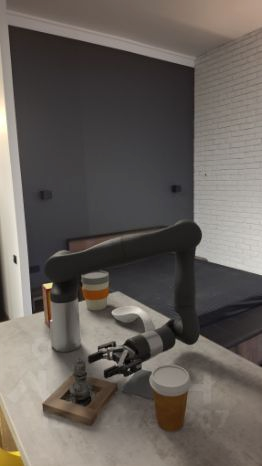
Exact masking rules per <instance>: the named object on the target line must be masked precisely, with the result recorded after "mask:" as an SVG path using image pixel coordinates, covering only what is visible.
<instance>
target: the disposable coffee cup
mask: <svg viewBox="0 0 262 466" xmlns="http://www.w3.org/2000/svg"><path fill="white" fill-rule="evenodd" d="M151 372H152V374H151V376H150V379H149V382H150V385H151V387H152V392H153V398H154V401H153V402H154V403H153V404H154V409H155V417H156V423H157V426H158V427H159V428H161V430H164V431H166V432H171V433H172V432H177V431H179V430H181V429H182V428H183V427H184V424H185V419H186V411H187V404H188V403H187V402H188V396H189V389H190V387H191V384H192V380H191V377H190V375H189V372H188V371H187V370H186V369H185V368H183V367H181V366H180V365H176V364H162V365H158V366H156V367H155V368H154V369H153V370H152V371H151Z"/></svg>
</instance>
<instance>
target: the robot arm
mask: <svg viewBox="0 0 262 466" xmlns="http://www.w3.org/2000/svg"><path fill="white" fill-rule="evenodd" d="M202 237H203V232H202V229H201V227H200V225H198V223H196V221H193V220H192V219H188V218H183V219H180V220H178V221H177V222H175V223H174V224H172V225H170V226H167V227H165V228H163V229H159V230H156V231H152V232H151V231H149V232H142V233H141V232H140V233H132V234H125V235H121V236H117V237H114V238H111V239H108V240H105V241H102V242H101V243H98V244H96V245H93V246H91V247H89V248H87V249H85V250H81V251H78V252H72V251H70V250H66V249H62V250H59V251H57V252H55V253H54V254H53V255H51V256H50V257H49V258H48V259H47V260H46V261H45V263H44V266H43V273H44V275H45V277H46V278H47V279H48V280H49V281H52V283H53V284H52V288H51V291H50V302H51V315H52V320H50V327H49V330H50V333H49V334H50V344H51V345H50V346H51V347H52V348H53V349H54V350H55V351H57V352H61V353H67V352H68V353H69V352H72V351H76V350H77V349H78V348H80V347H81V345H82V343H81V340H82V339H81V325H80V307H79V294H78V293H79V289H80V288H79V287H80V277H79V276H82V275H83V274H86V273H90V272H95V271H105V270H110V269H114V268H118V267H119V268H121V267H122V266H123V267H124V266H128V265H131V264H135V263H137V262H141V261H145V260H148V259H151V258H154V257H157V256H160V255H165V254H171V253H174V255H175V256H174V259H175V260H174V262H175V263H174V264H175V266H174V281H173V296H172V297H173V301H172V302H173V311H174V312H175V313H176V314H177V315H179V316H175V317H173V318H171V319H169V320H168V321H166V322H165V323H164V324H162V326H160V327H158V328H155V330H153V331H149V332H145V331H144V332H143V333H140V334H138V335H135V336H132V337H129V338H127V339H126V340H125V341H124V343H123V344H121V345H120V344H119V345H117V341H115V340H112V341H109V342H106V343H103V344H100V345H97V351H96V352H94V353H91V354H89V355H88V356H87V363H88V364H90V365H91V364H93V363H95V362H98V361H100V360H107V361H113V362H115V363H116V364H117V365H116V364H114V365H112V366H110V367H107V368H105V369H103V377H104V378H105V379H109V378H112V377H115V376H117V375H119V376H121V375H123V377H124V378H127V377H129V376H131V375H133V374H134V373H135V372H137V371H139V370H141V369H142V368H143V363H145V362H147V361H149V360H151V359H154V358H155V357H157V356H159V355H160V354H162V353H165V352H168V351H169V350H172V349H173V348H174V347H175V345H176V340H177V341H179V342H180V343H182V344H185V345H188V346H192V345H195V344H196V343H197V342H198V340H199V338H200V334H201V327H200V321H199V318H198V317H199V316H198V314H197V310H196V309H197V308H196V301H197V299H196V296H197V295H196V294H197V293H196V292H197V288H196V286H197V284H196V269H195V265H196V264H195V262H196V261H195V259H196V251H197V247H199V245H200V243H201V242H202Z"/></svg>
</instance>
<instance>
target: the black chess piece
mask: <svg viewBox="0 0 262 466" xmlns="http://www.w3.org/2000/svg"><path fill="white" fill-rule="evenodd" d="M73 369H74V370H73V371H74V372H75V373H74V372H73V373H74V374H73V373H72V374H73V377H74V378H75V383H74V384H72V385H71V387H70V393H71V396H72V398H71V403H74V404H78V405H81V406H84V407H87V406H88V405H89V403H90V402H91V401H92V400H93V396H92V395H91V393H92V391H91V390H92V384H91V383H90V382H88V381H87V380H86V376H88V372H87V371H86V362H85V360H83V359H81V357H79V358H78V359H77V360H76V361H75V362H74V363H73Z"/></svg>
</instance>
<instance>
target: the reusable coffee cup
mask: <svg viewBox="0 0 262 466" xmlns="http://www.w3.org/2000/svg"><path fill="white" fill-rule="evenodd" d="M80 278H81V279H80V282H81V283H82V287H81V290H82V295H83V298H84V300H85V305H86V309H87V310H90V311H100V310H103V309H105V308H107V305H108V296H109V293H110V292H109V291H110V285H109V283H110V274H109V272H108V271H105V270H101V271H95V272H90V273H86V274H83V275H81V277H80Z"/></svg>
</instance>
